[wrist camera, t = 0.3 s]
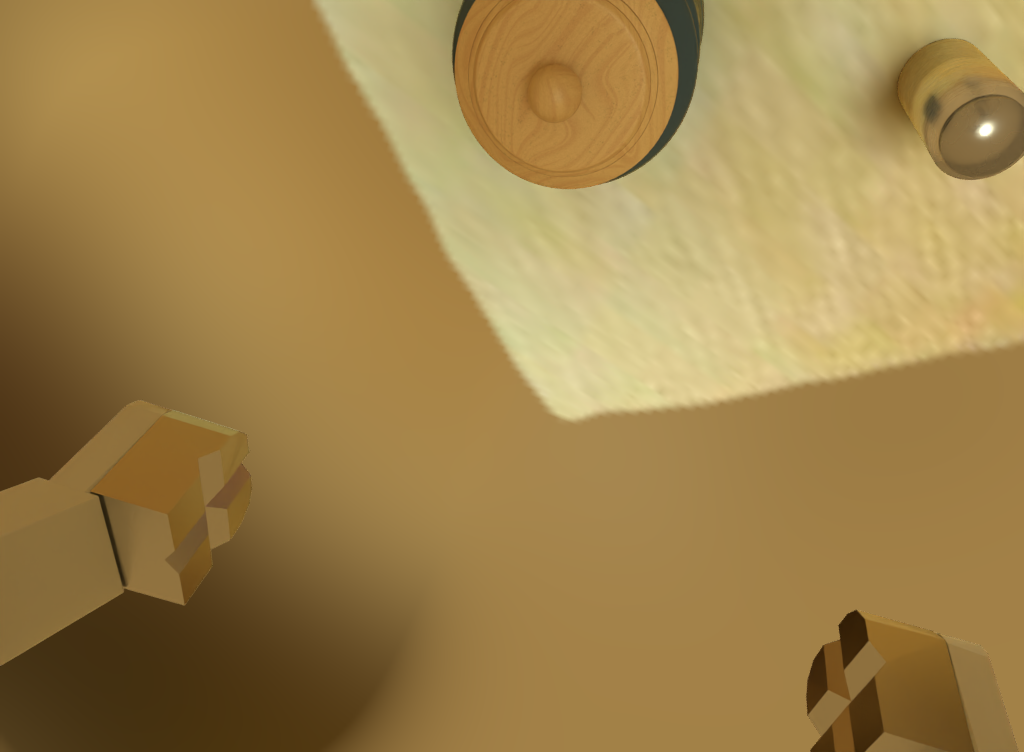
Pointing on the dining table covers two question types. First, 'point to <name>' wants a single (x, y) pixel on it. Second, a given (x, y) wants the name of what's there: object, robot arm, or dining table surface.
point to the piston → (963, 109)
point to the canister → (575, 83)
